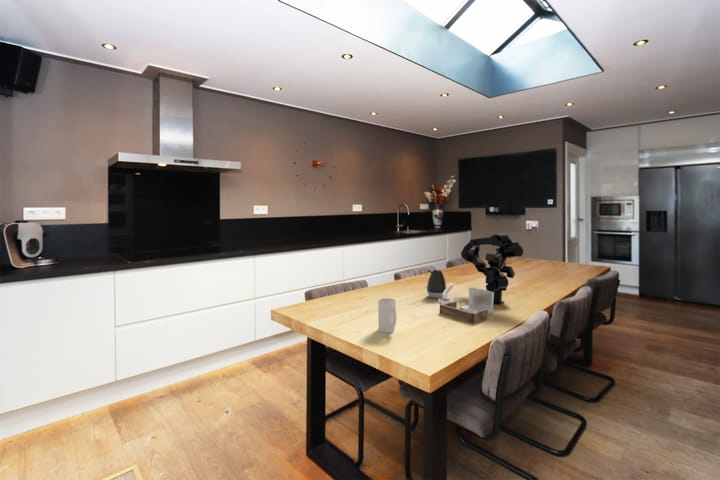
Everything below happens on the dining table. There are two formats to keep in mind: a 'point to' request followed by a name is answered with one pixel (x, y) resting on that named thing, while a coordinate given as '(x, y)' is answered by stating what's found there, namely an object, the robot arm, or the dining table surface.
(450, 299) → the hook
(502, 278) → the robot arm
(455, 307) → the bay
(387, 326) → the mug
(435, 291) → the pump dispenser
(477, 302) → the bracket
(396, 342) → the dining table surface
